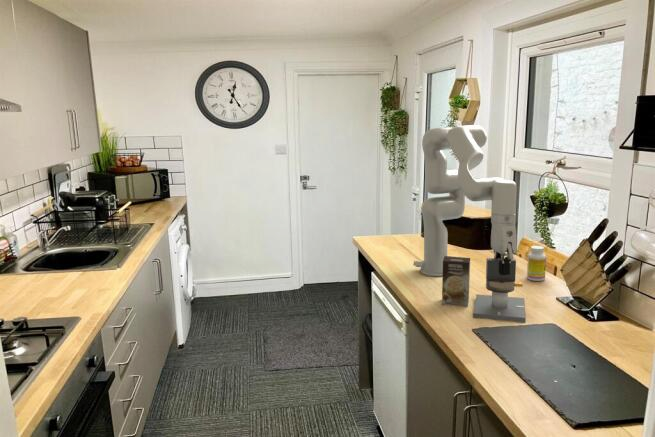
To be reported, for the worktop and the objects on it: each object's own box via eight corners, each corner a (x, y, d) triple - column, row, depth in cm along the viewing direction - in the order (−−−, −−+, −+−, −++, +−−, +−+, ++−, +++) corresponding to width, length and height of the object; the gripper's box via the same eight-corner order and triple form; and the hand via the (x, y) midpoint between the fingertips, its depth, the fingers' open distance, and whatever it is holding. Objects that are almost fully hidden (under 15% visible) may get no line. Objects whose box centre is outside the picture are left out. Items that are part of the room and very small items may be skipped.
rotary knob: (487, 292, 169) (488, 263, 167) (484, 283, 177) (485, 255, 175) (524, 293, 167) (526, 263, 165) (519, 284, 176) (520, 255, 173)
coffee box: (441, 305, 180) (441, 260, 177) (443, 298, 186) (443, 255, 183) (468, 307, 177) (469, 262, 174) (469, 300, 183) (470, 257, 180)
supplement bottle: (546, 281, 199) (548, 249, 196) (528, 281, 200) (529, 249, 198) (543, 276, 205) (544, 245, 203) (525, 275, 207) (526, 244, 204)
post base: (473, 317, 168) (473, 296, 167) (476, 298, 185) (476, 278, 183) (525, 322, 163) (526, 300, 162) (524, 302, 180) (524, 282, 178)
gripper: (526, 223, 160) (524, 279, 163) (503, 213, 176) (501, 265, 180) (503, 224, 159) (501, 281, 163) (482, 214, 175) (481, 266, 179)
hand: (501, 272), depth 171 cm, fingers closed on rotary knob, 3 cm apart
